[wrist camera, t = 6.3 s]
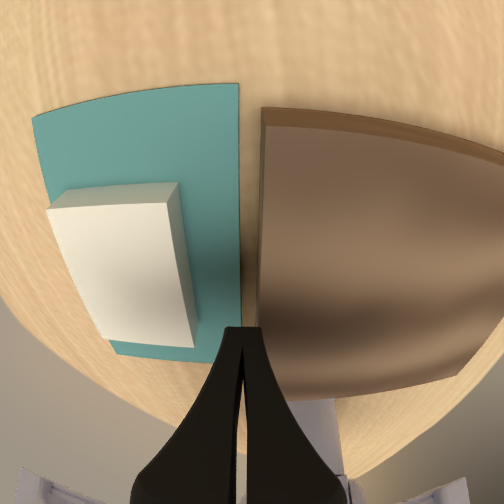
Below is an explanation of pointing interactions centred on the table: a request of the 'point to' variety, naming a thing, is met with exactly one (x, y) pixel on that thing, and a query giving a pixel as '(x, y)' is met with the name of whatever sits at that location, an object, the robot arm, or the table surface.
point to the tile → (129, 260)
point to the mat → (163, 170)
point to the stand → (374, 252)
